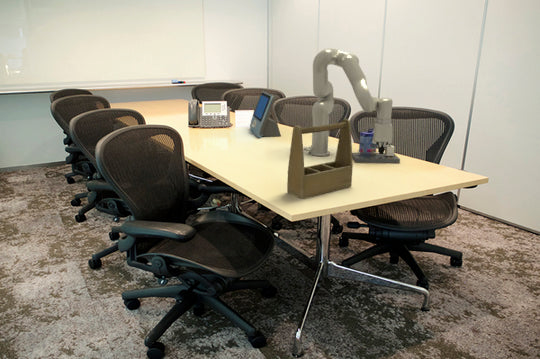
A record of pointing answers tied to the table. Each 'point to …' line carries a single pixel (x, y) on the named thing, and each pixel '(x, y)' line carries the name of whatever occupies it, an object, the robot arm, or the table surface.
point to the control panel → (374, 158)
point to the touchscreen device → (264, 117)
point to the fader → (389, 150)
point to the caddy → (322, 175)
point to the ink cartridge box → (367, 142)
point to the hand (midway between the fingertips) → (381, 153)
